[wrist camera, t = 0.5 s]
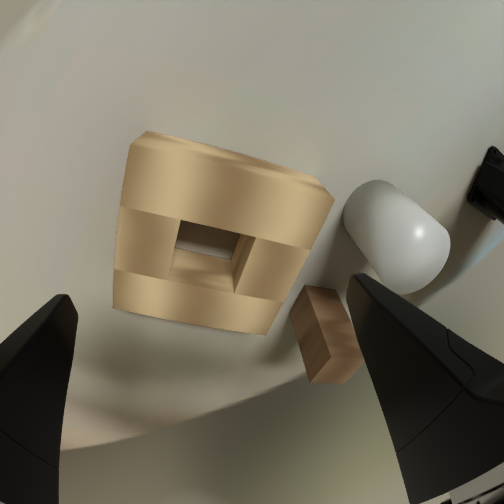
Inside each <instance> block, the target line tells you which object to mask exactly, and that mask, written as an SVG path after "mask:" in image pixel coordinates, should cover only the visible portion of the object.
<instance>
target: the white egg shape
mask: <svg viewBox="0 0 504 504" xmlns="http://www.w3.org/2000/svg"><path fill="white" fill-rule="evenodd" d="M343 223H344V226H345V229H346V230H347V232H348V233H349V235H350V236H351V238H352V239H353V240H354V242H355V243H356V244H357V246H358V247H359V249H360V250H361V251H362V253H363V254H364V256H365V257H366V259H367V260H368V261H369V263H370V264H371V266H372V267H373V269H374V270H375V272H376V273H377V275H378V276H379V278H380V279H381V281H382V282H383V284H384V285H385V287H387V288H388V289H390V290H391V291H393V292H394V293H396V294H409V293H413V292H415V291H418V290H420V289H421V288H423V287H425V286H426V285H427V284H429V283H430V282H431V281H432V280H433V279H434V278H435V277H436V276H437V275H438V274H439V272H440V271H441V270H442V268H443V266H444V265H445V263H446V261H447V258H448V255H449V252H450V237H449V234H448V232H447V231H446V229H445V228H444V227H443V226H442V225H440V224H439V223H438V222H437V221H436V220H435V219H434V218H432V217H431V216H430V215H429V214H428V213H427V212H425V211H424V210H423V209H422V208H421V207H419V206H418V205H417V204H416V203H415V202H413V201H412V200H411V199H410V198H408V197H407V196H406V195H405V194H403V193H402V192H401V191H400V190H398V189H397V188H396V187H394V186H393V185H392V184H390V183H389V182H386V181H382V180H373V181H369V182H366V183H364V184H362V185H361V186H359V187H358V188H357V189H356V190H355V191H354V192H353V193H352V194H351V195H350V197H349V198H348V200H347V202H346V204H345V207H344V210H343Z"/></svg>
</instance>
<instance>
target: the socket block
mask: <svg viewBox="0 0 504 504" xmlns="http://www.w3.org/2000/svg"><path fill="white" fill-rule="evenodd" d="M334 201H335V199H334V198H333V197H332V196H331V195H330V194H329V192H328V191H327V190H326V189H325V188H324V187H323V186H322V184H321V183H320V182H319V181H318V180H317V179H316V178H315V177H313V176H310V175H307V174H304V173H301V172H298V171H295V170H292V169H289V168H286V167H283V166H280V165H276V164H273V163H270V162H267V161H263V160H260V159H257V158H253V157H250V156H246V155H243V154H239V153H236V152H232V151H229V150H225V149H221V148H217V147H214V146H210V145H206V144H202V143H198V142H194V141H189V140H185V139H181V138H177V137H172V136H168V135H163V134H158V133H154V132H149V131H146V132H145V133H143V134H142V135H141V136H140V137H139V138H137V139H136V140H135V141H134V142H133V143H132V144H130V148H129V153H128V158H127V164H126V170H125V176H124V182H123V188H122V195H121V203H120V210H119V219H118V228H117V238H116V250H115V264H114V282H113V308H116V309H120V310H124V311H129V312H133V313H138V314H143V315H147V316H152V317H157V318H162V319H167V320H172V321H177V322H183V323H188V324H194V325H200V326H205V327H211V328H218V329H224V330H231V331H237V332H244V333H251V334H259V335H266V334H267V332H268V330H269V329H270V327H271V325H272V323H273V321H274V319H275V318H276V316H277V314H278V312H279V310H280V308H281V306H282V305H283V303H284V301H285V299H286V297H287V295H288V293H289V291H290V289H291V287H292V286H293V284H294V282H295V280H296V278H297V276H298V274H299V272H300V270H301V268H302V266H303V264H304V262H305V260H306V258H307V256H308V254H309V252H310V250H311V248H312V246H313V244H314V242H315V240H316V238H317V236H318V234H319V232H320V230H321V228H322V226H323V224H324V222H325V220H326V218H327V215H328V213H329V211H330V209H331V207H332V205H333V203H334ZM181 220H184V221H189V222H193V223H197V224H202V225H206V226H210V227H215V228H219V229H223V230H228V231H232V232H236V233H240V236H239V239H238V242H237V245H236V247H235V250H234V253H233V256H232V259H231V260H228V259H224V258H219V257H214V256H210V255H205V254H200V253H196V252H191V251H186V250H182V249H177V248H174V247H175V243H176V238H177V234H178V229H179V225H180V221H181Z"/></svg>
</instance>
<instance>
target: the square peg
mask: <svg viewBox="0 0 504 504" xmlns="http://www.w3.org/2000/svg"><path fill="white" fill-rule="evenodd" d="M290 315H291V319H292V322H293V326H294V329H295V333H296V336H297V340H298V343H299V347H300V350H301V354H302V358H303V361H304V365H305V368H306V372H307V375H308V379H309V382H310V383H345V382H346V381H347V380H348V379H349V378H350V377H351V376H352V375H353V374H354V373H355V372H356V371H357V369H358V368H359V367H360V366H361V365H362V364H363V363H364V362H365V360H364V358H363V355H362V352H361V350H360V347H359V344H358V341H357V338H356V334H355V330H354V327H353V325H352V323H351V321H350V319H349V317H348V314H347V312H346V310H345V308H344V306H343V304H342V302H341V300H340V298H339V296H338V294H337V292H336V291H334V290H329V289H323V288H318V287H313V286H308V285H304V287H303V289H302V290H301V292H300V294H299V296H298V298H297V299H296V301H295V303H294V305H293V307H292V308H291V310H290Z"/></svg>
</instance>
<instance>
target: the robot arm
mask: <svg viewBox="0 0 504 504" xmlns="http://www.w3.org/2000/svg"><path fill="white" fill-rule="evenodd" d="M467 201H468V202H469V203H470V204H471V205H473V206H474V207H476V208H477V209H478V210H480V211H481V212H483V213H484V214H486V215H487V216H488V217H490V218H491V219H492V220H496V219H498V220H499V221H500V222H501V223H503V224H504V155H503V154H502V153H501V152H500V151H499V150H498V149H497V148H496V147H494V146H491V147H490V149H489V152H488V154H487V157H486V159H485V161H484V164H483V166H482V168H481V170H480V173H479V175H478V177H477V179H476V181H475V183H474V186H473V188H472V190H471V192H470V194H469V196H468V198H467ZM346 300H347V304H348V308H349V312H350V315H351V319H352V323H353V326H354V330H355V334H356V338H357V341H358V344H359V347H360V350H361V352H362V355H363V358H364V360H365V363H366V365H367V368H368V371H369V374H370V376H371V379H372V382H373V385H374V388H375V391H376V393H377V396H378V399H379V402H380V405H381V408H382V411H383V414H384V417H385V420H386V423H387V426H388V429H389V432H390V436H391V439H392V442H393V445H394V449H395V452H396V456H397V459H398V462H399V466H400V469H401V473H402V477H403V480H404V484H405V488H406V491H407V495H408V499H409V503H410V504H420V503H422V502H425V501H428V500H430V499H432V498H435V497H437V496H440V495H442V494H444V493H447V492H449V495H450V498H449V499H447V500H445V501H444V502H442V503H441V504H504V364H503V363H502V362H500V361H498V360H497V359H495V358H493V357H491V356H490V355H488V354H487V353H485V352H483V351H482V350H480V349H478V348H477V347H475V346H474V345H472V344H470V343H468V342H467V341H465V340H464V339H463V338H461V337H460V336H458V335H457V334H455V333H454V332H452V331H451V330H450V329H446V327H445V326H444V325H442V324H441V323H439V322H438V321H436V320H435V319H433V318H432V317H430V316H429V315H427V314H426V313H424V312H423V311H422V310H420V309H419V308H417V307H416V306H414V305H413V304H411V303H410V302H408V301H407V300H405V299H404V298H402V297H401V296H399V295H397V294H396V293H394V292H393V291H391V290H390V289H388V288H387V287H385V286H384V285H382V284H381V283H379V282H377V281H376V280H374V279H373V278H371V277H370V276H368V275H366V274H365V273H357V274H352V275H351V277H350V280H349V285H348V289H347V293H346ZM77 324H78V313H77V311H76V309H75V307H74V305H73V303H72V301H71V298H70V297H69V295H67V294H57V295H56V296H54V297H53V298H52V299H51V300H50V301H48V302H47V303H46V304H45V305H44V306H42V307H41V308H40V309H39V310H38V311H37V312H35V313H34V314H33V315H32V316H31V317H30V318H28V319H27V320H26V321H25V322H24V323H23V324H22V325H20V326H19V327H18V328H17V329H16V330H15V331H14V332H13V333H12V334H10V335H9V336H8V337H7V338H6V339H5V340H4V341H3V342H2V343H1V344H0V504H59V458H60V444H61V433H62V424H63V416H64V408H65V401H66V395H67V389H68V383H69V377H70V372H71V367H72V361H73V355H74V346H75V338H76V331H77Z"/></svg>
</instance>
